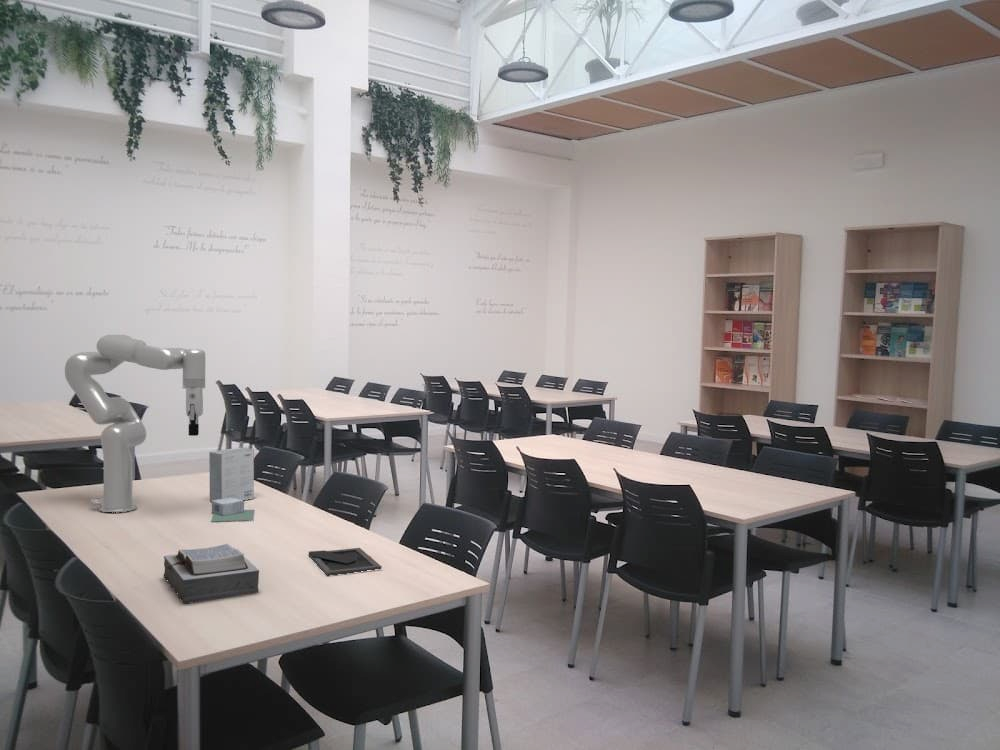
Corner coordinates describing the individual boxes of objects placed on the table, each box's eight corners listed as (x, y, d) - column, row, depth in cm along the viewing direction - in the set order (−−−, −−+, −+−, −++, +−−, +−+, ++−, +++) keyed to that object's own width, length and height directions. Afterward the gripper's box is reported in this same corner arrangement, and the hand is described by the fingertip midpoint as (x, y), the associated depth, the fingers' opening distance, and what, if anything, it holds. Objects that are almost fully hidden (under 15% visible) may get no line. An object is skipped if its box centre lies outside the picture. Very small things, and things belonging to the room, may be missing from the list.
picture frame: (308, 558, 243) (326, 578, 225) (308, 551, 243) (326, 571, 225) (359, 552, 251) (381, 571, 232) (359, 546, 251) (381, 565, 232)
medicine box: (222, 516, 288) (244, 512, 294) (222, 503, 287) (244, 500, 294) (211, 512, 293) (232, 508, 299) (211, 500, 292) (232, 496, 299)
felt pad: (211, 522, 280) (211, 521, 280) (214, 511, 295) (214, 510, 295) (253, 521, 284) (253, 519, 283) (254, 510, 299) (254, 509, 299)
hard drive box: (242, 496, 322) (243, 447, 321) (254, 499, 318) (255, 449, 317) (208, 502, 310) (208, 451, 309) (220, 505, 305) (221, 453, 304)
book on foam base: (162, 607, 198) (162, 568, 197) (162, 575, 223) (162, 540, 222) (260, 598, 207) (260, 560, 206) (250, 567, 232) (250, 534, 231)
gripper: (203, 385, 279) (202, 438, 281) (207, 382, 294) (206, 432, 295) (180, 385, 277) (179, 438, 279) (185, 382, 292) (184, 432, 293)
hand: (193, 435), depth 287 cm, fingers closed
